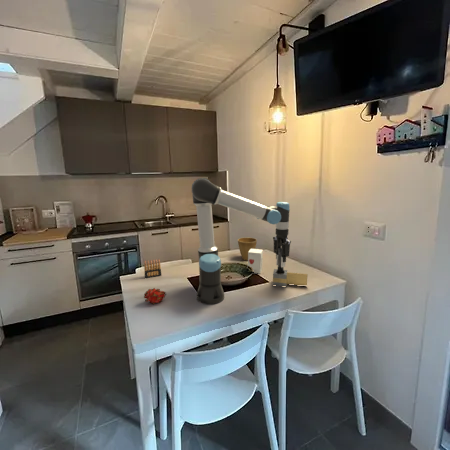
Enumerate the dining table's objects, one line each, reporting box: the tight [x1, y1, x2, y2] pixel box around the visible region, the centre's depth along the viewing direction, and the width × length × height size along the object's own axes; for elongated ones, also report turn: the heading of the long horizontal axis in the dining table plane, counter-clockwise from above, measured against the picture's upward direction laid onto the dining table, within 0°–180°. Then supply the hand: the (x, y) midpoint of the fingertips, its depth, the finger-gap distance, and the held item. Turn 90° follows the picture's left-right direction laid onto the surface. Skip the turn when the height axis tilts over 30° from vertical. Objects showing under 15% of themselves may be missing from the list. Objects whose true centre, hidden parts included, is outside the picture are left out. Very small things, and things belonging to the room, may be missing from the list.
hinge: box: [272, 268, 308, 287], centre depth 169 cm, size 20×20×8 cm
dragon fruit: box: [143, 287, 167, 305], centre depth 142 cm, size 8×8×12 cm
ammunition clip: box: [143, 258, 162, 279], centre depth 176 cm, size 11×2×12 cm, turn 115°
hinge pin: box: [277, 246, 285, 273], centre depth 162 cm, size 4×4×15 cm
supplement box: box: [247, 248, 264, 275], centre depth 185 cm, size 9×9×15 cm
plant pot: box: [237, 237, 258, 262], centre depth 210 cm, size 15×15×16 cm
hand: (280, 265), depth 163 cm, fingers closed on hinge pin, 3 cm apart
